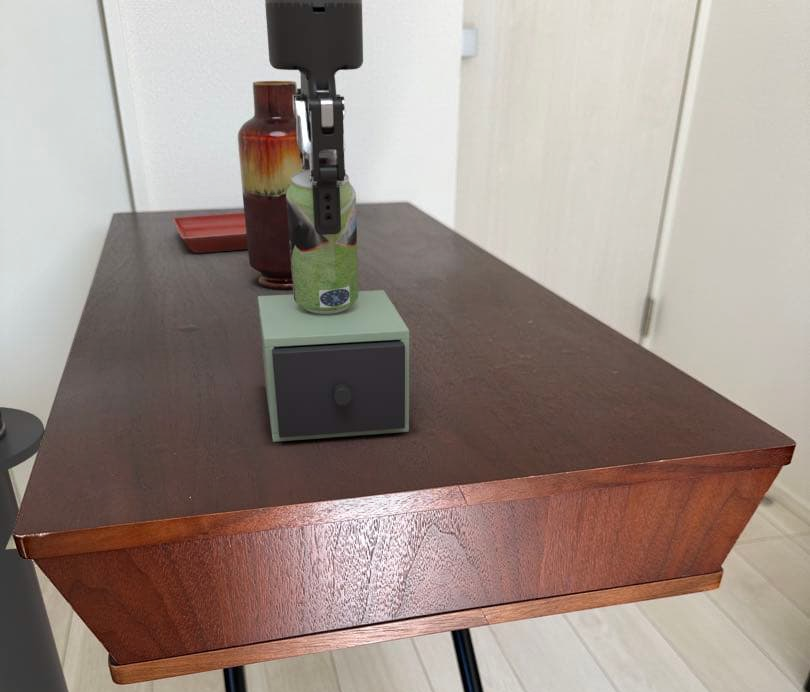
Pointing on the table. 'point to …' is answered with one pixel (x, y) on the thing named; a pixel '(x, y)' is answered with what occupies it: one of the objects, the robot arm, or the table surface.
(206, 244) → the plant saucer
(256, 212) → the vase
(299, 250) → the beverage can
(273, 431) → the cabinet
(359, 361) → the drawer
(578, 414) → the table surface
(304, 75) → the robot arm
